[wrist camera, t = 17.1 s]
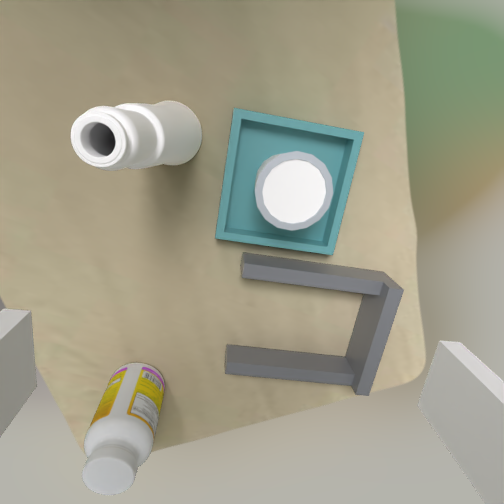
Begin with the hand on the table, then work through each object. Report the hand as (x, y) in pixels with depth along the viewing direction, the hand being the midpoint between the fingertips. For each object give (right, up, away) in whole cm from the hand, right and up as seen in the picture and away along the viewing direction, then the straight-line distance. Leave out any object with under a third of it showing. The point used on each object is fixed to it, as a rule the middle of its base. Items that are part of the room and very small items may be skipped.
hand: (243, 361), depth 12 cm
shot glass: (+3, +11, +26) cm, 28 cm away
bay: (+6, -4, +31) cm, 32 cm away
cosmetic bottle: (-8, +15, +24) cm, 30 cm away
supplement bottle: (-14, -13, +33) cm, 38 cm away
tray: (+4, +11, +26) cm, 29 cm away
